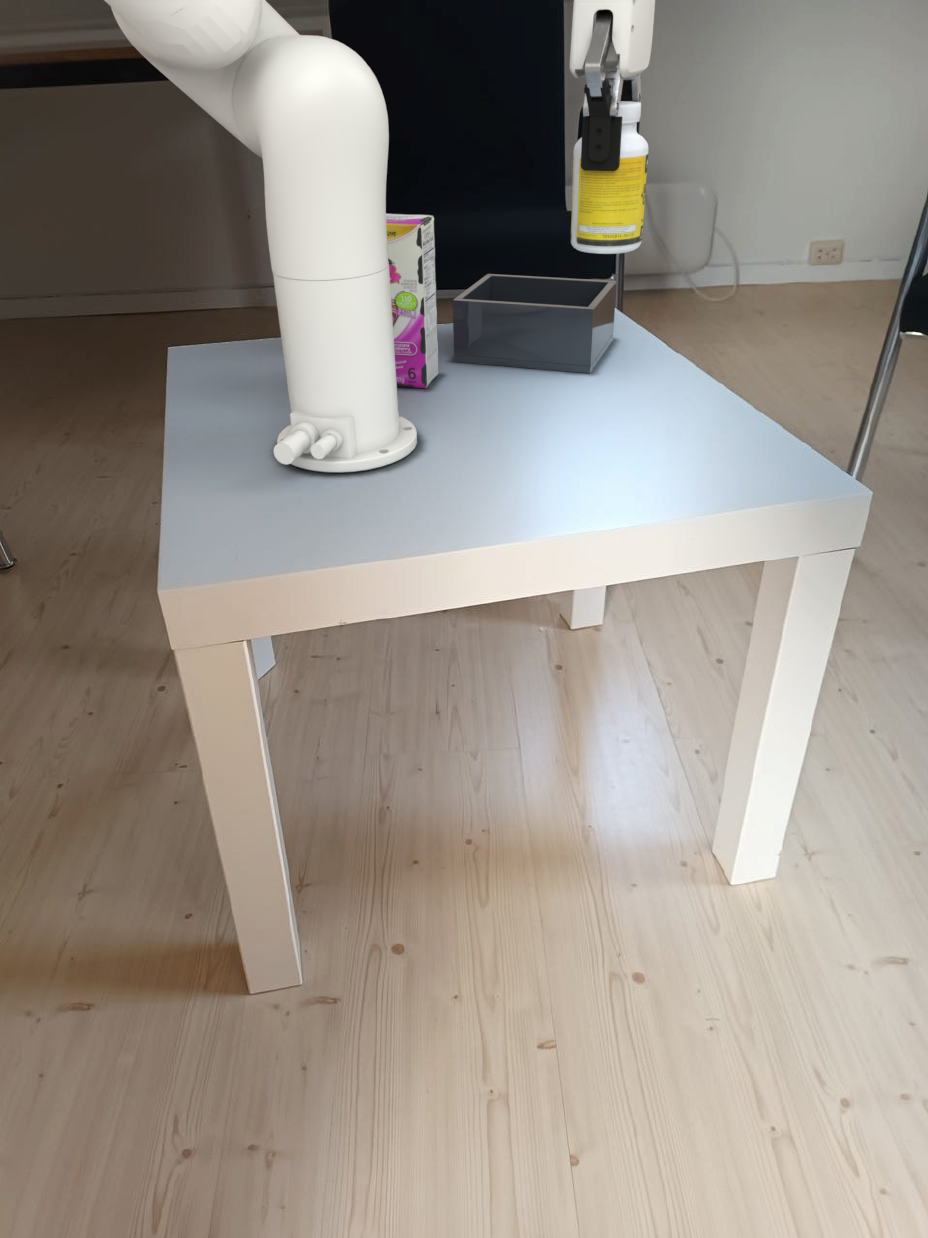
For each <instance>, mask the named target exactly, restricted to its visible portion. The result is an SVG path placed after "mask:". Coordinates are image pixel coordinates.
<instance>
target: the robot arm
mask: <svg viewBox="0 0 928 1238" xmlns="http://www.w3.org/2000/svg"><path fill="white" fill-rule="evenodd" d="M103 1H104V2H105V3H106V4H107V5H108V6H109V7H110V8H111V12H112V14H113V17H114V19H115V21H116V23H117V25H118V27H119V28H120V30H121V31H122V34H123V35H124V36H125V38H126V39H127V40H128V42H129V43H130V44H131V46H133V48H134V49H136V50H137V52H138V53H140V55H141V56H143V58H145V59H146V60H147V61H148V62H149V63H150V64H151V65H152V66H153V67H154V68H155V69H157V70H158V72H160V73H161V74H163V76H165V77H166V78H167V79H168V80H169V81H170V82H172V83H173V84H174V85H175V86H176V87H177V88H178V89H179V90H181V92H183V93H184V94H185V95H186V96H187V97H189V99H191V100H192V101H193V102H194V103H195V104H197V106H199V107H200V108H201V109H202V110H203V111H204V112H206V114H208V115H209V116H210V117H212V118H213V119H214V120H215V121H216V122H217V123H218V124H220V125H221V127H223V128H224V129H225V130H227V131H228V133H230V134H231V135H232V136H233V137H235V138H236V139H237V140H238V141H240V142H241V143H242V144H243V145H244V146H245V147H247V149H249V150H250V151H251V152H252V153H254V154H255V155H257V156H258V157H259V158H261V159H262V168H263V183H264V184H263V185H264V207H265V209H264V210H265V222H266V223H265V224H266V234H267V243H268V244H267V245H268V251H269V252H268V253H269V259H270V268H271V272H272V278H273V286H274V292H275V293H274V294H275V300H276V309H277V316H278V324H279V331H280V339H281V346H282V347H281V348H282V354H283V360H284V361H283V363H284V370H285V378H286V386H287V392H288V400H289V407H290V413H289V420H290V424H289V425H287V426H286V427H285V428H283V429H282V430H281V432H280V433H279V434H278V436H277V440H276V444H275V445H274V446H273V456H274V457H275V460H276V461H277V462H279V463H280V464H282V465H284V466H285V465H292V466H293V467H298V468H299V469H302V470H308V471H312V472H320V473H338V474H339V473H342V474H343V473H356V472H363V471H369V470H373V469H379V468H382V467H385V466H388V465H392V464H394V463H396V462H398V461H400V460H403V459H404V458H406V457H407V456H408V455H410V454H411V453H412V452H413V451H414V450H415V449H416V446H417V444H418V431H417V428H416V426H415V425H414V424H413V423H412V422H411V421H410V420H408V419H406V418H405V417H403V416H401V415H399V400H398V386H397V383H396V367H395V352H394V336H393V320H392V305H391V289H390V273H389V263H388V248H387V230H386V214H387V178H388V177H387V175H388V160H389V145H390V144H389V143H390V131H389V129H390V128H389V127H390V126H389V115H388V110H387V104H386V100H385V97H384V94H383V90H382V88H381V85H380V83H379V81H378V78H377V76H376V75H375V73H374V72H373V70H372V69H371V67H370V66H369V65H368V64H367V62H366V61H365V59H364V58H363V57H362V56H360V55H359V54H358V53H357V52H356V51H355V50H353V49H352V48H351V47H349V46H347V45H346V44H345V43H343V42H340V41H339V40H336V39H333V38H330V37H326V36H321V35H310V34H309V35H308V34H300V33H299V32H298V31H296V29H294V27H293V26H292V25H291V24H289V22H287V21H286V20H285V19H284V17H283V16H282V15H281V14H280V13H278V11H277V10H275V9H274V7H272V5H271V4H270V3H269V2H267V0H103ZM572 5H573V7H572V20H571V21H572V22H571V36H570V52H569V71H570V73H571V75H572V76H573V77H574V78H575V79H583V78H585V84H584V88H583V93H584V97H583V104H582V124H581V125H582V127H581V137H582V147H581V168H582V170H585V171H616V170H617V169H618V168H619V165H620V149H621V133H622V116H618V114H619V107H620V101H631V102H639V103H641V102H642V82H641V81H642V75H641V74H642V73H643V72H644V71H645V70H646V69H647V68H648V67H649V64H650V61H651V55H652V54H651V53H652V47H653V36H654V23H655V9H656V0H573V4H572ZM640 124H641V120H640V121H639V122H637V126H636V130H637V133H638V134H639V135H640Z"/></svg>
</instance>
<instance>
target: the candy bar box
mask: <svg viewBox="0 0 928 1238" xmlns="http://www.w3.org/2000/svg"><path fill="white" fill-rule="evenodd" d="M386 230H387V248H388V263H389V273H390V289H391V305H392V320H393V336H394V352H395V367H396V383H397V387H401V388H402V387H404V388H416V389H417V388H418V389H427V388H428V387H430V385H431V384H432V382H433V381H434V380H435V379H436V378H437V377H438V376H439V374H440V373H439V370H440V369H439V367H440V365H439V364H440V363H439V342H438V341H439V340H438V337H439V335H438V311H437V309H438V305H437V274H436V234H435V217H434V215H432V214H431V215H430V214H407V213H386Z"/></svg>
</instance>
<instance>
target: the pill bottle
mask: <svg viewBox="0 0 928 1238" xmlns="http://www.w3.org/2000/svg"><path fill="white" fill-rule="evenodd" d="M641 113H642V103H641V102H640V103H639V102H631V101H620V107H619V114H618V116H622V133H621V149H620V165H619V168H618V169H617V170H616V171H585V170H582V168H581V147H582V136H581V137H580V138H579V139H578V140H577V141H576V142H575V144H574V146H573V152H572V153H573V154H572V155H573V157H572V187H571V188H572V190H571V218H570V219H571V220H570V221H571V222H570V225H571V226H570V244H571V246H572V247H573V249H576V251H579V252H581V253H582V252H583V253H588V254H597V255H598V254H599V255H600V254H601V255H614V254H615V255H616V254H617V255H618V254H625V253H630V252H633V251H635V250H637V249H638V248H639V247H640V246H641V244H642V241H643V230H644V219H645V217H644V216H645V204H646V203H645V202H646V189H647V177H648V176H647V174H648V165H649V164H648V163H649V144H648V141H647V140H646V139H645V138H644V137H643V136H642V135H641V134H640V133H639V134H638V133H637V130H636V126H637V122H639V121H640V122H641V118H642V117H641V115H642V114H641Z"/></svg>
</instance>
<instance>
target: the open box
mask: <svg viewBox="0 0 928 1238" xmlns="http://www.w3.org/2000/svg"><path fill="white" fill-rule="evenodd" d="M616 297H617V280H603V279H588V278H587V279H586V278H571V277H570V278H568V277H550V276H533V275H515V274H514V275H513V274H499V273H498V274H497V273H496V274H495V273H487V274H485V275H484V276H483V277H481V278H480V279H479V280H477V281H476V282H475V283H474V284H472V285H471V286H470V287H468V288H467V289H466V290H464V291H463V292H461V293H460V294H458V296H456V297H455V298H454V299H452V331H453V362H454V363H462V364H463V363H465V364H474V365H475V364H477V365H488V366H497V367H498V366H499V367H510V368H512V367H513V368H524V369H534V370H546V371H556V372H557V371H558V372H559V371H560V372H570V373H581V374H591V372H592V371H593V370H594V368H595V366H597V364H598V362H599V361H600V359H601V358H602V356H603V355H604V354H605V352H606V351H607V349H608V348H609V347H610V345H611V343H612V342H613V341H614V329H615V328H614V326H615V313H616V312H615V311H616Z"/></svg>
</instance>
